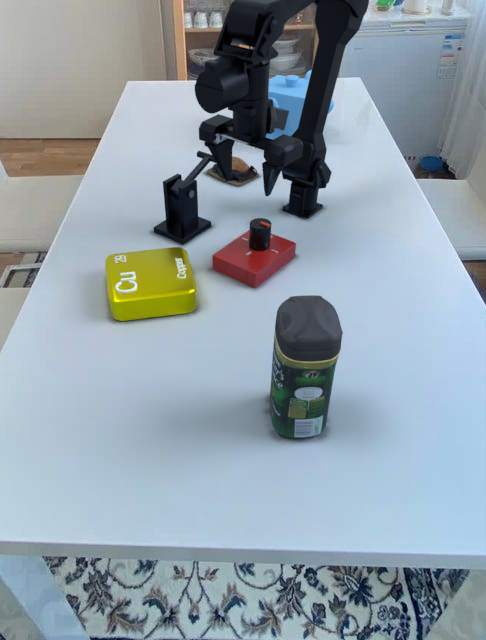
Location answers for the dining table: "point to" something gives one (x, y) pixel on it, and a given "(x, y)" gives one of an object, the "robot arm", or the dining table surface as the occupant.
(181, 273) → the element tile
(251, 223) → the knob
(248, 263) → the dial panel
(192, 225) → the lever bracket
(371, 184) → the dining table surface
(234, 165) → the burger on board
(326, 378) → the coffee jar
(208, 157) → the black lever handle
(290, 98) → the teakettle
